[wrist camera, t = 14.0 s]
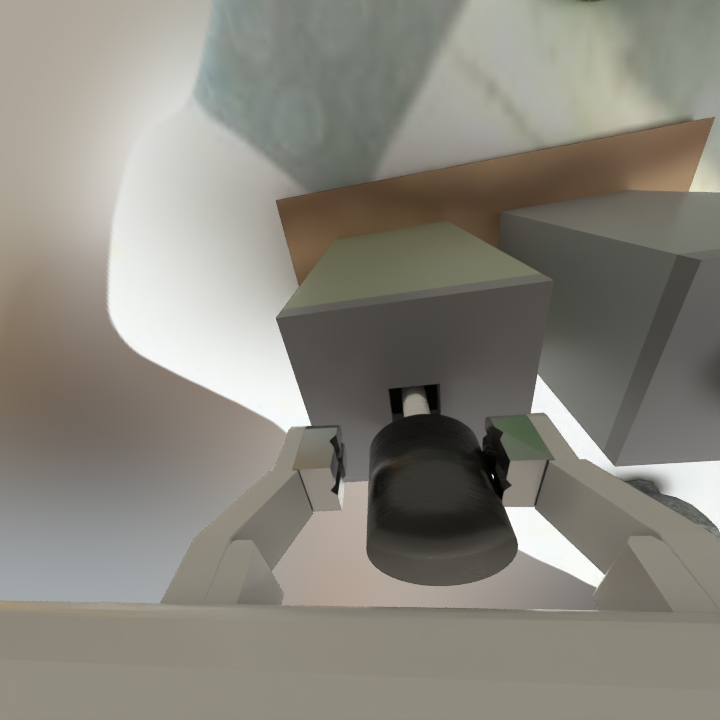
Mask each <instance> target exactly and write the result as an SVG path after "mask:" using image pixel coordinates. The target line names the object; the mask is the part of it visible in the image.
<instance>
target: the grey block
mask: <svg viewBox="0 0 720 720" xmlns="http://www.w3.org/2000/svg"><path fill="white" fill-rule="evenodd" d="M498 249H499V250H500V251H502V252H504V253H506V254H508V255H509V256H511V257H513V258H515V259H517V260H518V261H520V262H522V263H524V264H525V265H527V266H529V267H531V268H533V269H534V270H536V271H538V272H540V273H542V274H543V275H545V276H547V277H549V278H551V279H552V280H554V282H553V288H552V294H551V299H550V305H549V311H548V316H547V322H546V328H545V333H544V339H543V345H542V350H541V356H540V362H539V367H538V373H537V374H538V375H539V376H540V377H541V378H542V380H543V381H544V382H545V383H546V384H547V386H548V387H549V388H550V389H551V390H552V392H553V393H554V394H555V395H556V396H557V398H558V399H559V400H560V401H561V402H562V404H563V405H564V406H565V407H566V408H567V410H568V411H569V412H570V413H571V414H572V416H573V417H574V418H575V419H576V420H577V422H578V423H579V424H580V425H581V426H582V428H583V429H584V430H585V431H586V432H587V434H588V435H589V436H590V437H591V438H592V440H593V441H594V442H595V443H596V444H597V446H598V447H599V448H600V449H601V450H602V452H603V453H604V454H605V455H606V456H607V458H608V459H609V460H610V461H611V462H612V464H613V465H614V466H631V465H648V464H666V463H683V462H700V461H717V460H720V193H712V192H680V191H648V190H627V191H621V192H615V193H609V194H603V195H597V196H591V197H585V198H579V199H573V200H567V201H561V202H555V203H549V204H544V205H538V206H532V207H526V208H520V209H514V210H508V211H502V212H500V225H499V239H498Z"/></svg>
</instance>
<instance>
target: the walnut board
mask: <svg viewBox="0 0 720 720" xmlns="http://www.w3.org/2000/svg"><path fill="white" fill-rule="evenodd" d="M714 118H715V117H712V118H707V119H701V120H696V121H691V122H685V123H680V124H675V125H670V126H664V127H659V128H654V129H649V130H643V131H638V132H633V133H628V134H622V135H617V136H612V137H607V138H601V139H596V140H591V141H585V142H580V143H575V144H570V145H564V146H559V147H554V148H549V149H543V150H538V151H533V152H528V153H522V154H517V155H512V156H507V157H501V158H496V159H491V160H485V161H480V162H475V163H470V164H464V165H459V166H454V167H449V168H443V169H438V170H433V171H428V172H422V173H417V174H412V175H407V176H401V177H396V178H391V179H385V180H380V181H375V182H370V183H364V184H359V185H354V186H349V187H343V188H338V189H333V190H328V191H322V192H317V193H312V194H307V195H301V196H296V197H291V198H285V199H280V200H276V204H277V207H278V211H279V215H280V218H281V222H282V226H283V229H284V233H285V237H286V240H287V244H288V248H289V251H290V255H291V259H292V262H293V266H294V270H295V273H296V277H297V281H298V284H299V287H300V285H301V284H302V283H303V281H304V280H305V279H306V277H307V276H308V275H309V273H310V272H311V271H312V269H313V268H314V267H315V265H316V264H317V263H318V261H319V260H320V259H321V257H322V256H323V255H324V253H325V252H326V251H327V249H328V248H329V247H330V245H331V244H332V243H333V241H334V240H335V239H341V238H346V237H352V236H358V235H364V234H370V233H376V232H382V231H388V230H394V229H400V228H406V227H412V226H418V225H424V224H430V223H436V222H442V221H448V222H450V223H452V224H454V225H456V226H457V227H459V228H461V229H463V230H465V231H466V232H468V233H470V234H472V235H474V236H475V237H477V238H479V239H481V240H483V241H484V242H486V243H488V244H490V245H491V246H493V247H495V248H497V249H498V239H499V225H500V212H502V211H508V210H514V209H520V208H526V207H532V206H538V205H544V204H549V203H555V202H561V201H567V200H573V199H579V198H585V197H591V196H597V195H603V194H609V193H615V192H621V191H627V190H648V191H680V192H688V191H689V188H690V186H691V183H692V180H693V177H694V174H695V172H696V169H697V166H698V163H699V160H700V158H701V155H702V152H703V149H704V146H705V144H706V141H707V138H708V135H709V132H710V130H711V127H712V124H713V121H714Z"/></svg>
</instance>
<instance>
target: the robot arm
mask: <svg viewBox="0 0 720 720" xmlns="http://www.w3.org/2000/svg"><path fill="white" fill-rule="evenodd" d="M484 428H485V430H486V433H487V434H486V435H485V436H484V437H483V441H482V451H483V454H484V457H485V459H486V462H487V464H488V467H489V469H490V472H491V474H492V475H494V479H493V480H494V482H495V485H496V488H497V490H498V493H499V495H500V498H501V500H502V503H503V505H504V507H535V509H536V510H537V511H538V512H539V513H540V514H541V515H542V516H543V517H544V518H545V519H546V520H548V521H549V522H550V523H551V524H552V525H553V526H554V527H555V528H556V529H557V530H558V531H559V532H560V533H561V534H562V535H563V536H564V537H565V538H567V539H568V540H569V541H570V542H571V543H572V544H573V545H574V546H575V547H576V548H577V549H578V550H579V551H580V552H581V553H582V554H583V555H585V556H586V557H587V558H588V559H589V560H590V561H591V562H592V563H593V564H594V565H595V566H596V567H597V568H598V569H599V570H600V571H601V572H602V573H604V574H605V576H604V578H603V579H602V581H601V582H600V584H599V586H598V587H597V589H596V590H595V593H594V595H593V596H592V597H593V599H594V601H595V603H596V605H597V607H598V609H599V611H596V610H594V611H593V610H538V609H535V610H534V609H479V608H473V609H472V608H421V607H419V608H418V607H363V606H361V607H360V606H303V605H299V606H298V605H282V600H283V595H284V593H283V591H282V589H281V587H280V585H279V584H278V582H277V580H276V579H275V577H274V575H273V574H272V572H271V571H272V570H273V569H274V567H275V566H276V565H277V563H278V562H279V560H280V559H281V557H282V556H283V555H284V553H285V552H286V551H287V549H288V548H289V546H290V545H291V544H292V542H293V541H294V539H295V538H296V537H297V535H298V534H299V532H300V531H301V530H302V528H303V527H304V526H305V524H306V523H307V521H308V520H309V518H310V517H311V515H312V514H313V511H314V512H315V511H333V510H334V511H335V510H342V504H343V495H344V486H343V481H342V479H343V478H344V477H345V476H346V469H347V456H346V448H345V444H343V443H342V442H341V441H342V431H341V427H340V426H339V425H325V426H307V427H291V428H290V429H289V430H288V433H287V436H286V438H285V441H284V444H283V447H282V449H281V452H280V454H279V457H278V460H277V463H276V465H275V468H274V471H268V472H267V473H266V474H265V475H264V476H263V477H262V478H261V479H260V480H258V481H257V482H256V483H255V484H254V485H253V486H252V487H251V488H249V489H248V490H247V491H246V492H245V493H244V494H243V495H242V496H241V497H240V498H238V499H237V500H236V501H235V502H234V503H233V504H232V505H231V506H229V507H228V508H227V509H226V510H225V511H224V512H223V513H222V514H221V515H219V516H218V517H217V518H216V519H215V520H214V521H213V522H212V523H211V524H210V525H208V526H207V527H206V528H205V529H204V530H203V531H202V532H201V533H199V534H198V535H197V536H196V537H195V538H194V539H193V541H192V543H191V545H190V547H189V549H188V551H187V553H186V554H185V557H184V558H183V561H182V562H181V564H180V566H179V568H178V570H177V572H176V574H175V576H174V577H173V579H172V581H171V583H170V585H169V587H168V589H167V591H166V593H165V595H164V597H163V598H162V600H161V602H160V603H122V602H121V603H120V602H63V601H60V602H58V601H2V600H1V601H0V720H720V541H719V540H718V539H717V538H716V536H715V535H714V534H713V533H711V532H709V531H707V530H706V529H704V528H702V527H701V526H699V525H697V524H695V523H694V522H692V521H690V520H689V519H687V518H685V517H683V516H682V515H680V514H678V513H677V512H675V511H673V510H671V509H670V508H668V507H666V506H665V505H663V504H661V503H660V502H658V501H656V500H654V499H653V498H651V497H649V496H648V495H646V494H644V493H642V492H641V491H639V490H637V489H636V488H634V487H632V486H630V485H629V484H627V483H625V482H624V481H622V480H620V479H618V478H617V477H615V476H613V475H612V474H610V473H608V472H607V471H605V470H603V469H601V468H600V467H598V466H596V465H595V464H593V463H591V462H589V461H588V460H586V459H579V458H578V457H577V456H576V454H575V453H574V452H573V450H572V449H571V447H570V446H569V445H568V443H567V442H566V441H565V439H564V438H563V436H562V435H561V434H560V432H559V431H558V430H557V428H556V427H555V425H554V424H553V423H552V421H551V420H550V419H549V417H548V416H547V415H546V414H544V413H532V414H524V415H522V414H520V415H504V416H489V417H486V419H485V424H484Z"/></svg>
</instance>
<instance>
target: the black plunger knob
mask: <svg viewBox="0 0 720 720" xmlns="http://www.w3.org/2000/svg"><path fill="white" fill-rule="evenodd" d="M401 393H402V402H403V411H404V417H403V418H401V419H398V420H396V421H394V422H391V423H390V424H388V425H387V426H385V427H384V428H383V429H381V430H380V431H379V432H378V434H377V435H376V436H375V438H374V439H373V441H372V443H371V446H370V453H369V483H368V515H367V547H366V548H367V549H366V550H367V555H368V557H369V559H370V561H371V562H372V564H373V565H374V566H375V567H376V568H377V569H379V570H380V571H381V572H383V573H385V574H386V575H389V576H391V577H393V578H396V579H398V580H401V581H405V582H409V583H413V584H419V585H428V586H452V585H461V584H466V583H471V582H475V581H479V580H482V579H485V578H487V577H490V576H492V575H494V574H496V573H498V572H500V571H501V570H503V569H504V568H505V567H507V566H508V565H509V564H510V563H511V562H512V561H513V559H514V557H515V556H516V553H517V550H518V543H517V539H516V536H515V534H514V531H513V528H512V526H511V523H510V521H509V518H508V516H507V513H506V510H505V508H504V505H503V503H502V500H501V498H500V495H499V493H498V490H497V488H496V485H495V482H494V480H493V477H492V474H491V472H490V469H489V467H488V464H487V462H486V459H485V457H484V454H483V451H482V449H481V446H480V444H479V441H478V439H477V437H476V435H475V434H474V432H473V431H472V430H471V429H470V428H469V427H468V426H467V425H465V424H464V423H462V422H460V421H459V420H456V419H454V418H451V417H448V416H444V415H438V414H430V411H429V407H428V402H427V398H426V393H425V389H424V385H422V386H412V387H401Z"/></svg>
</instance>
